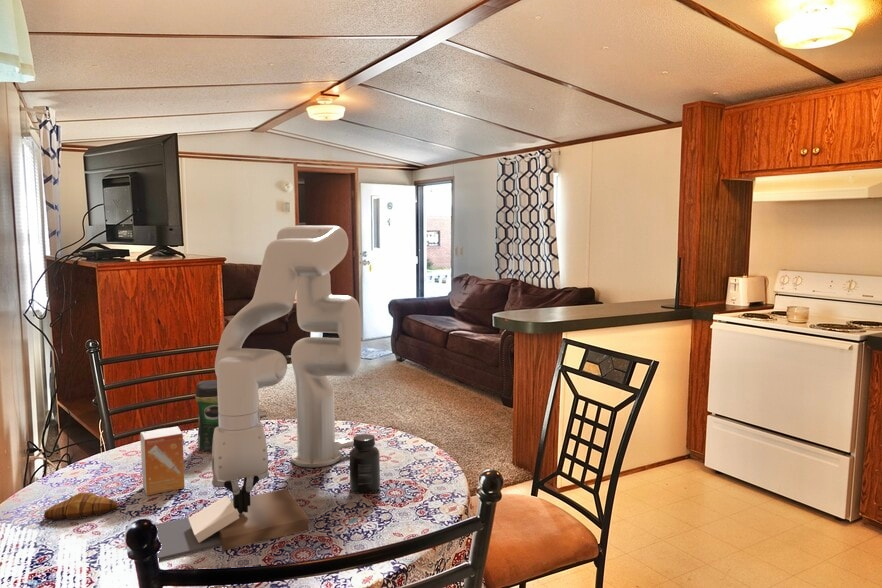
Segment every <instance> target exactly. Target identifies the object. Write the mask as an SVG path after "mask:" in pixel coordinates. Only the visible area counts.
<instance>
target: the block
mask: <svg viewBox="0 0 882 588" xmlns="http://www.w3.org/2000/svg"><path fill="white" fill-rule="evenodd" d="M230 500H231V499H230V498H229V495H225V496H223V497H222V498H219V499H218V500H216V501H215V502H213V503H210V504H211V505H208V506H206V507H204V508H203V509H201V510H200V511H198V512H196V513H194V514H192V515H190V516H188V517H189V518H188V517H187V518H188V519H189V522H190V524H191V527H192V530H193V532H194V535H195V537H196V539H197V541H198V542H201V541H203V540H204V539H206V538H208V537H209V536H211V535H213V534H214V533H216V532H217V531H219V530H221V529H222V528H224V527H226V526H227V525H229V524H230V523H232V522H234V521H235V520H237V519H239V516H238V514H237V512H236V510H235V508H234V506H233V505H232V503H231V501H230Z"/></svg>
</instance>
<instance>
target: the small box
mask: <svg viewBox="0 0 882 588" xmlns="http://www.w3.org/2000/svg"><path fill="white" fill-rule="evenodd" d="M139 434H140V454H141V456H140V459H141V477H142V478H141V479H142V488H143V490H144V492H145V495H146V496H147V497H148V496H151V495H156V494H161V493H166V492H171V491H176V490H180V489H181V490H182V489H185V464H184V463H185V462H184V461H185V460H184V436H183V432H182V431H181V429H180V427H179V426H173V427H172V426H171V427H163V428H157V429H153V430H147V431H141V432H140V433H139Z"/></svg>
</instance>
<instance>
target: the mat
mask: <svg viewBox="0 0 882 588" xmlns="http://www.w3.org/2000/svg"><path fill="white" fill-rule="evenodd" d="M189 517H190V516H188V517H183V518H180V519H174V520H169V521H165V522H160V523H157V524H156V523H155V524H156V526H157V528H158V532H159V533H158V537H159V540H160V542H161V544H162V549H161V551H160V552H159V554H158V558H159V561H158V562H160V561H163V560H168V559H172V558H177V557H182V556H184V555H189V554H194V553H197V552H198V553H199V552H202V551H205V550H206V551H207V550H211V549H215V548H219V547H222V543H221V540H220V537H219V535H218V532H216V533H214V534H213V535H211V536H209V537H208V538H206V539H204V540H203V541H201V542H198V541H197V539H196V537H195V535H194V532H193V530H192V527H191V524H190V522H189V519H188V518H189Z"/></svg>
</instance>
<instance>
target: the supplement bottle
mask: <svg viewBox="0 0 882 588" xmlns="http://www.w3.org/2000/svg"><path fill="white" fill-rule="evenodd" d="M352 441H353V447H352V448H351V450H350V451H349V456H348V457H349V488H350V490H351V491H352V492H353V493H356V494H360V495H361V494H363V495H364V494H371V493H374V492H377V491H378V490H379V488H380V487H381V469H380V468H381V467H380V466H381V465H380V464H381V463H380V461H381V460H380V451H379V448H378V447H376V446H375V445H376V439H375V435H373V434H368V433H363V434H356V435H355V436H354V437H353V439H352Z"/></svg>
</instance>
